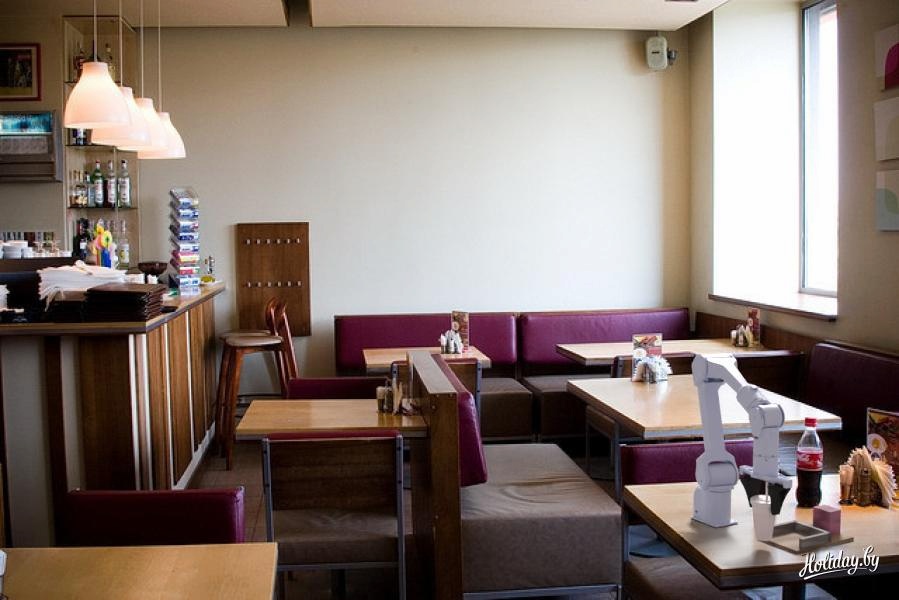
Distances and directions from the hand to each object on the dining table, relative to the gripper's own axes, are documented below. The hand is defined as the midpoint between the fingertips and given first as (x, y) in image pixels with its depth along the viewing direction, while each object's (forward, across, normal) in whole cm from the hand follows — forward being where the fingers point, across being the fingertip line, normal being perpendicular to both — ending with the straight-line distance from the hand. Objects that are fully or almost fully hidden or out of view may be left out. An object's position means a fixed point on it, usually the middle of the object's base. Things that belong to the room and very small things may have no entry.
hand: (764, 510), depth 220 cm
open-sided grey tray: (+9, 0, +14) cm, 17 cm away
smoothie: (+7, 0, 0) cm, 7 cm away
